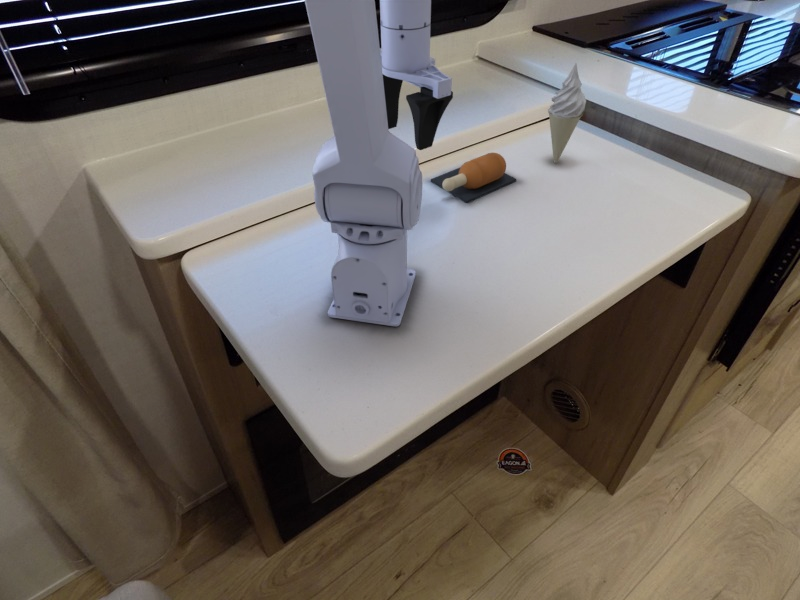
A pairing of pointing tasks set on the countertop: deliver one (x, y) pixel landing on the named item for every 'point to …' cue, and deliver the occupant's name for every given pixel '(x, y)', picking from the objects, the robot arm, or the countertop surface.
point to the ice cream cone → (566, 112)
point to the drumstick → (477, 172)
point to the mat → (473, 194)
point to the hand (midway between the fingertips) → (406, 137)
